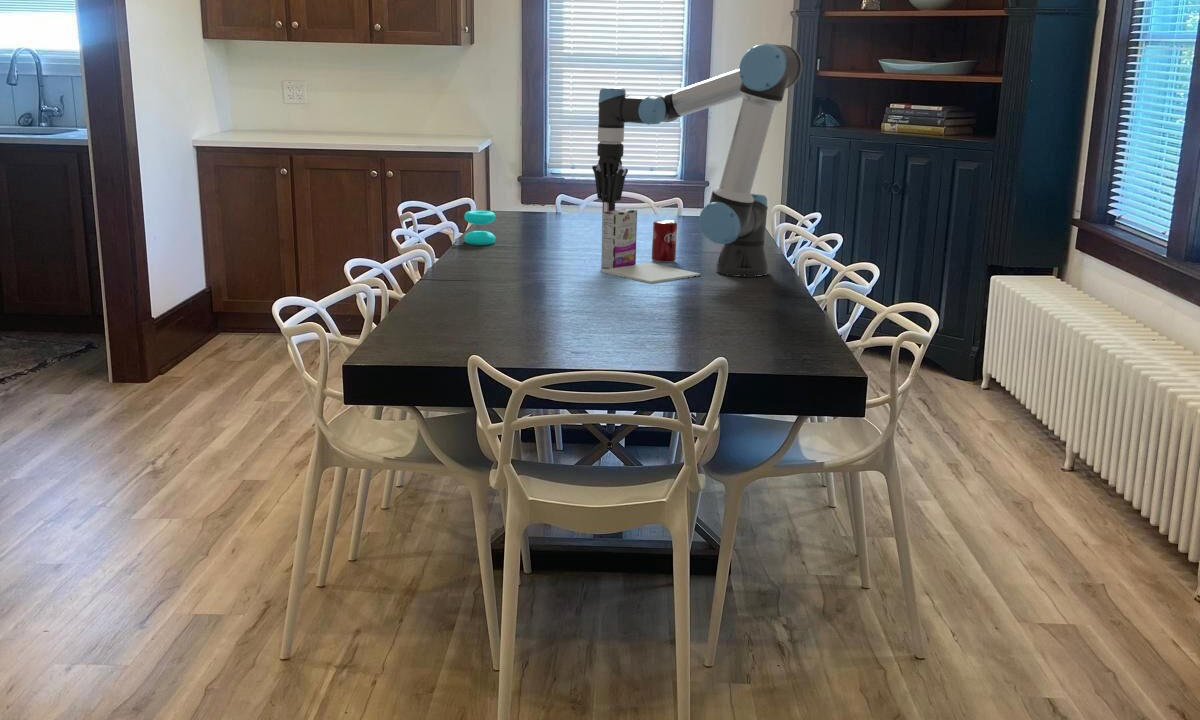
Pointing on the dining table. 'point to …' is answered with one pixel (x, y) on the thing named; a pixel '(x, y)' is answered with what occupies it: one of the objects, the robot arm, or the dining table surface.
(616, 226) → the candy bar box
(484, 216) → the donuts
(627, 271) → the mat
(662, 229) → the soda can
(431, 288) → the dining table surface
